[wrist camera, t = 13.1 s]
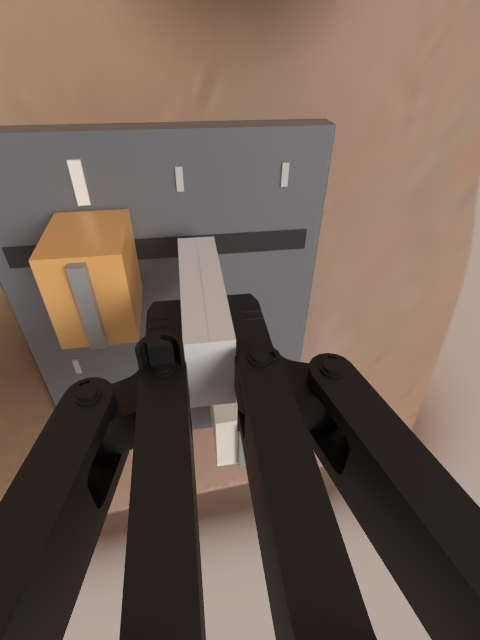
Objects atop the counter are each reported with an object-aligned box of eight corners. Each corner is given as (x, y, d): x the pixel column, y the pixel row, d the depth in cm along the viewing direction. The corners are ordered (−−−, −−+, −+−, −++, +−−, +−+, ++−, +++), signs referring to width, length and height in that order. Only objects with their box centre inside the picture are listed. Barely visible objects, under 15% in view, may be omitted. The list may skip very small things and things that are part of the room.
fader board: (75, 429, 26) (72, 446, 25) (-52, 127, 15) (-67, 135, 14) (287, 403, 28) (292, 418, 27) (326, 119, 17) (336, 125, 16)
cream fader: (210, 411, 25) (218, 472, 22) (208, 368, 23) (216, 430, 19) (255, 405, 26) (269, 465, 22) (257, 362, 23) (274, 422, 20)
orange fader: (78, 292, 18) (59, 356, 15) (54, 212, 16) (25, 266, 12) (142, 288, 19) (138, 348, 15) (128, 208, 16) (120, 260, 13)
